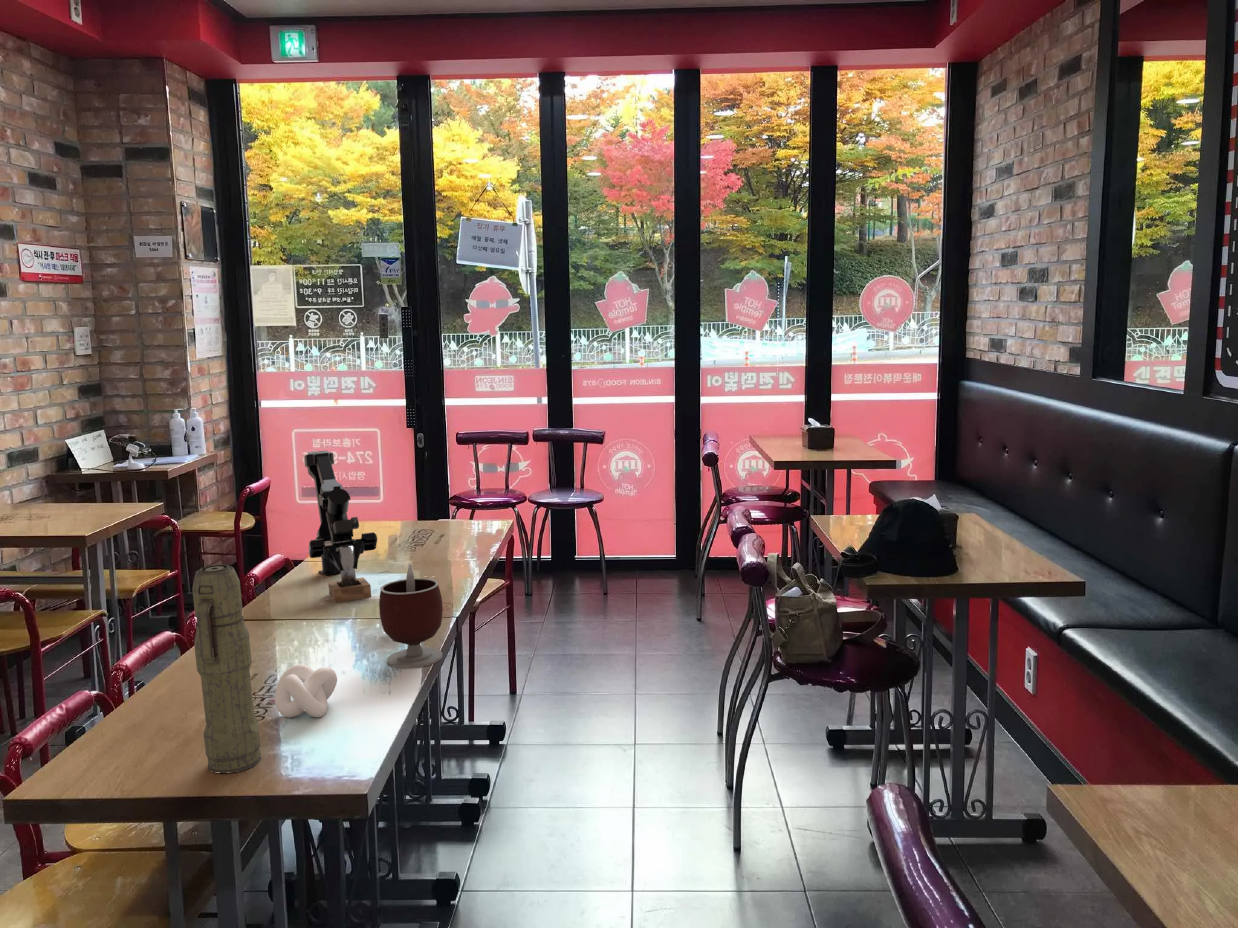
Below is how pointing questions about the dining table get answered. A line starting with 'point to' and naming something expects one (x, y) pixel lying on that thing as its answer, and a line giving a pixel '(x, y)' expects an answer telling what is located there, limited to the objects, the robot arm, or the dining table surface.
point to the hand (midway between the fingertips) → (348, 569)
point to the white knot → (305, 690)
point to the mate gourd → (411, 619)
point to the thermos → (224, 671)
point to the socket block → (349, 590)
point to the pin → (347, 565)
